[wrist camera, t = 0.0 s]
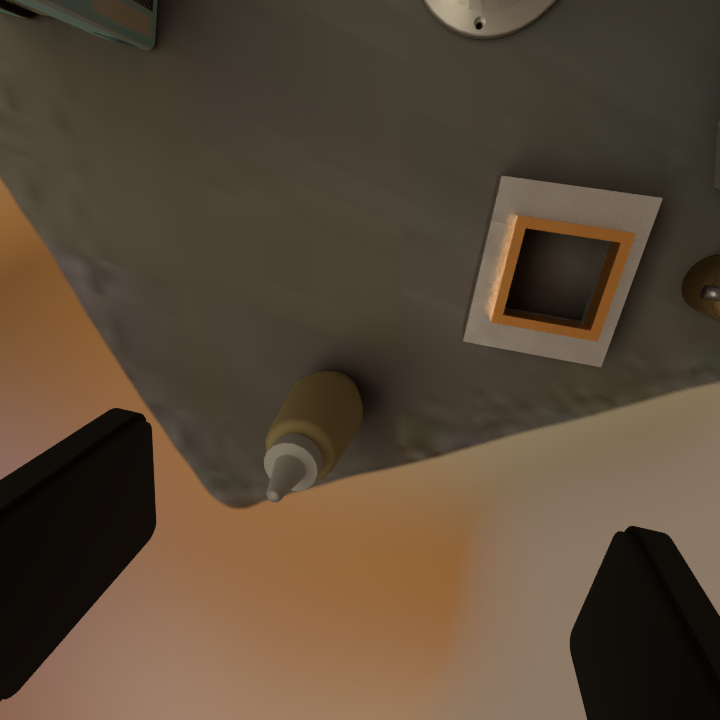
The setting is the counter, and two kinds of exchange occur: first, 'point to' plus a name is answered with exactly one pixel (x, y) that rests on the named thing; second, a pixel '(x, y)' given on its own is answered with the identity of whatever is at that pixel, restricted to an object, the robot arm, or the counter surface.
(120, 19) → the device
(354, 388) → the squeeze bottle
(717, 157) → the grey rounded bag
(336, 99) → the counter surface
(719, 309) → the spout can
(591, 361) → the orange white open box
